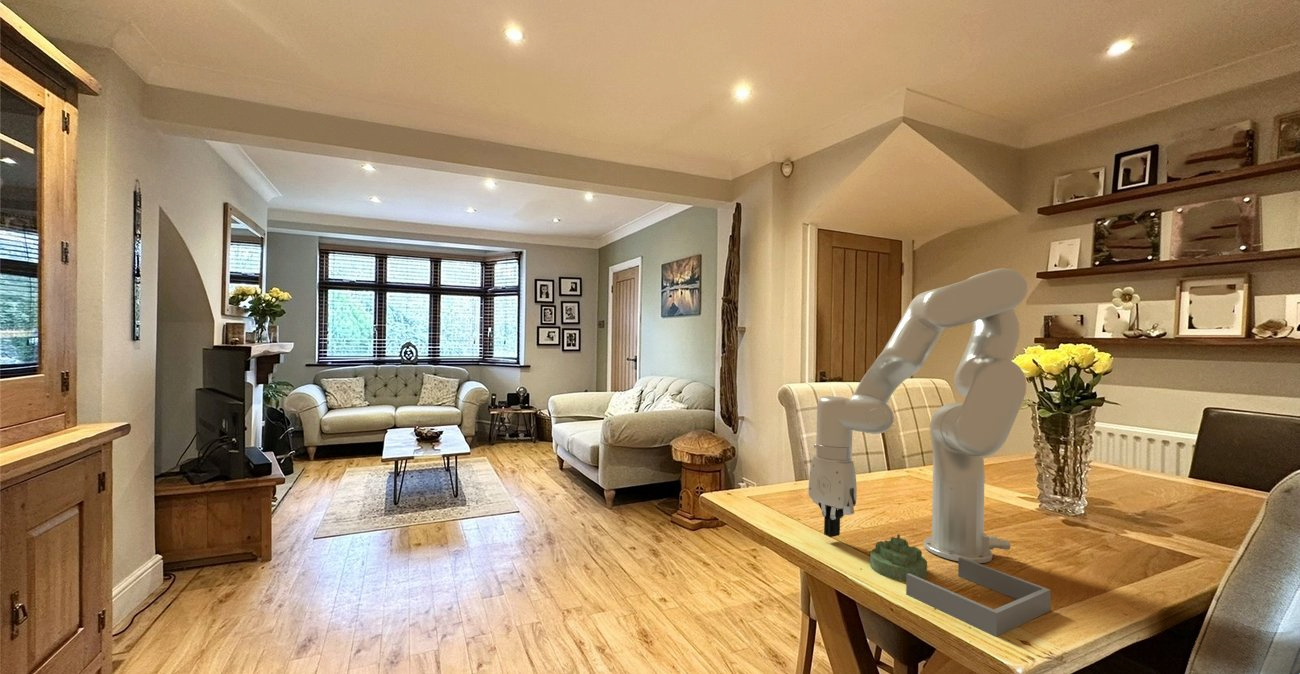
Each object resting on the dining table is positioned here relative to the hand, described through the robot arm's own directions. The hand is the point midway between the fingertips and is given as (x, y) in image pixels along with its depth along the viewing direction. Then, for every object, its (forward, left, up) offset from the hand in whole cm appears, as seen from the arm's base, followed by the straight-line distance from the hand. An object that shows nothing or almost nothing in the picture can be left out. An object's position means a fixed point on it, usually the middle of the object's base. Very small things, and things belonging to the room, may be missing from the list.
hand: (831, 534), depth 115 cm
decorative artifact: (-11, +12, -2) cm, 16 cm away
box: (-21, +22, -2) cm, 31 cm away
